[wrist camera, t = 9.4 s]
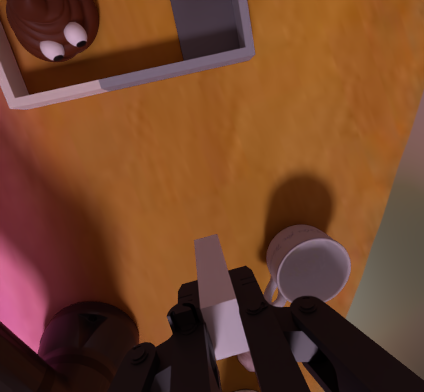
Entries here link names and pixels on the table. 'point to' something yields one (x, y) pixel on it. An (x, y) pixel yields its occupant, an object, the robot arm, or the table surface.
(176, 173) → the table surface
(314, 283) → the teacup
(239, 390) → the coffee can
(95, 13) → the poop emoji
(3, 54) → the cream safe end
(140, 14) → the table surface
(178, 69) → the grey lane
